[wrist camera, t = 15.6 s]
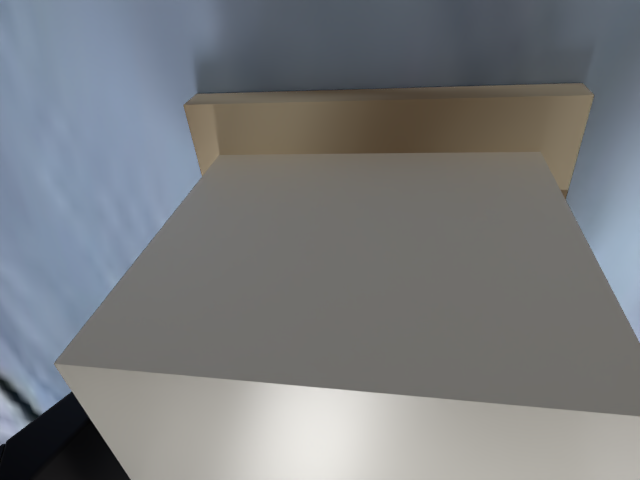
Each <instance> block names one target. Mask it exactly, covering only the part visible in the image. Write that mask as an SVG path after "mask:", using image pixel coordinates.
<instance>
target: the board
mask: <svg viewBox="0 0 640 480" xmlns="http://www.w3.org/2000/svg"><path fill="white" fill-rule="evenodd" d="M593 98H594V94H593V93H592V92H591V91H590V90H589V89H588V88H587V87H586V86H585V85H584V84H583V83H564V84H529V85H494V86H458V87H423V88H388V89H352V90H317V91H282V92H246V93H211V94H196V95H194V96H193V97H192V98H191V99H190V100H189V101H187V102H186V103H185V104H184V109H185V113H186V117H187V121H188V124H189V128H190V132H191V136H192V140H193V143H194V147H195V151H196V155H197V159H198V163H199V166H200V170H201V174H202V176H203V175H204V174H205V172H206V171H207V170H208V169H209V167H210V166H211V165H212V164H213V162H214V161H215V160H216V159H217V157H218V156H219V155H257V154H361V153H464V152H541V153H542V155H543V157H544V159H545V161H546V163H547V165H548V167H549V169H550V171H551V173H552V174H553V176H554V178H555V180H556V182H557V184H558V186H559V188H560V190H561V192H562V194H563V196H564V198H565V200H566V196H567V193H568V189H569V185H570V182H571V178H572V174H573V171H574V167H575V163H576V160H577V156H578V153H579V149H580V145H581V142H582V138H583V134H584V131H585V127H586V123H587V120H588V116H589V112H590V109H591V105H592V102H593Z"/></svg>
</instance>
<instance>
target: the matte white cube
mask: <svg viewBox="0 0 640 480" xmlns="http://www.w3.org/2000/svg"><path fill="white" fill-rule="evenodd" d="M54 365H55V367H56V368H57V370H58V371H59V373H60V374H61V376H62V377H63V379H64V380H65V382H66V383H67V385H68V386H69V388H70V389H71V391H72V392H73V394H74V395H75V397H76V398H77V400H78V401H79V403H80V404H81V406H82V407H83V409H84V410H85V412H86V413H87V415H88V416H89V418H90V419H91V421H92V422H93V424H94V425H95V427H96V428H97V430H98V431H99V433H100V434H101V436H102V437H103V439H104V440H105V442H106V443H107V445H108V446H109V448H110V449H111V451H112V452H113V454H114V455H115V457H116V458H117V460H118V461H119V463H120V464H121V466H122V467H123V469H124V470H125V472H126V473H127V475H128V476H129V478H130V479H131V480H640V343H639V341H638V339H637V337H636V335H635V333H634V331H633V329H632V327H631V325H630V323H629V321H628V320H627V318H626V316H625V314H624V312H623V310H622V308H621V306H620V304H619V302H618V300H617V298H616V296H615V294H614V292H613V291H612V289H611V287H610V285H609V283H608V281H607V279H606V277H605V275H604V273H603V271H602V269H601V267H600V265H599V263H598V262H597V260H596V258H595V256H594V254H593V252H592V250H591V248H590V246H589V244H588V242H587V240H586V238H585V236H584V234H583V233H582V231H581V229H580V227H579V225H578V223H577V221H576V219H575V217H574V215H573V213H572V211H571V209H570V207H569V205H568V204H567V202H566V200H565V198H564V196H563V194H562V192H561V190H560V188H559V186H558V184H557V182H556V180H555V178H554V176H553V174H552V173H551V171H550V169H549V167H548V165H547V163H546V161H545V159H544V157H543V155H542V153H541V152H464V153H361V154H257V155H219V156H218V157H217V159H216V160H215V161H214V162H213V164H212V165H211V166H210V167H209V169H208V170H207V171H206V172H205V174H204V175H203V176H202V177H201V179H200V180H199V181H198V182H197V184H196V185H195V186H194V187H193V189H192V190H191V191H190V193H189V194H188V195H187V196H186V198H185V199H184V200H183V201H182V203H181V204H180V205H179V206H178V208H177V209H176V210H175V211H174V213H173V214H172V215H171V216H170V218H169V219H168V220H167V222H166V223H165V224H164V225H163V227H162V228H161V229H160V230H159V232H158V233H157V234H156V235H155V237H154V238H153V239H152V240H151V242H150V243H149V244H148V245H147V247H146V248H145V249H144V250H143V252H142V253H141V254H140V256H139V257H138V258H137V259H136V261H135V262H134V263H133V264H132V266H131V267H130V268H129V269H128V271H127V272H126V273H125V274H124V276H123V277H122V278H121V279H120V281H119V282H118V283H117V285H116V286H115V287H114V288H113V290H112V291H111V292H110V293H109V295H108V296H107V297H106V298H105V300H104V301H103V302H102V303H101V305H100V306H99V307H98V308H97V310H96V311H95V312H94V313H93V315H92V316H91V317H90V319H89V320H88V321H87V322H86V324H85V325H84V326H83V327H82V329H81V330H80V331H79V332H78V334H77V335H76V336H75V337H74V339H73V340H72V341H71V342H70V344H69V345H68V346H67V348H66V349H65V350H64V351H63V353H62V354H61V355H60V356H59V358H58V359H57V360H56V361H55V363H54Z"/></svg>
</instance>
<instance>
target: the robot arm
mask: <svg viewBox="0 0 640 480" xmlns="http://www.w3.org/2000/svg"><path fill="white" fill-rule="evenodd" d="M0 480H131V479H130V478H129V476H128V475H127V473H126V472H125V470H124V469H123V467H122V466H121V464H120V463H119V461H118V460H117V458H116V457H115V455H114V454H113V452H112V451H111V449H110V448H109V446H108V445H107V443H106V442H105V440H104V439H103V437H102V436H101V434H100V433H99V431H98V430H97V428H96V427H95V425H94V424H93V422H92V421H91V419H90V418H89V416H88V415H87V413H86V412H85V410H84V409H83V407H82V406H81V404H80V403H79V401H78V400H77V398H76V397H75V395H74V394H73V392H71V393H70V394H68V395H67V396H66V397H64V398H63V399H62V400H60V401H59V402H58V403H56V404H55V405H54V406H52V407H51V408H50V409H48V410H47V411H46V412H44V413H43V414H42V415H40V416H39V417H38V418H36V419H35V420H34V421H32V422H31V423H30V424H28V425H27V426H26V427H25V428H23V429H22V430H21V431H19V432H18V433H17V434H15V435H14V436H13V437H11V438H10V439H9V440H7V441H6V444H2V445H1V446H0Z"/></svg>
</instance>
